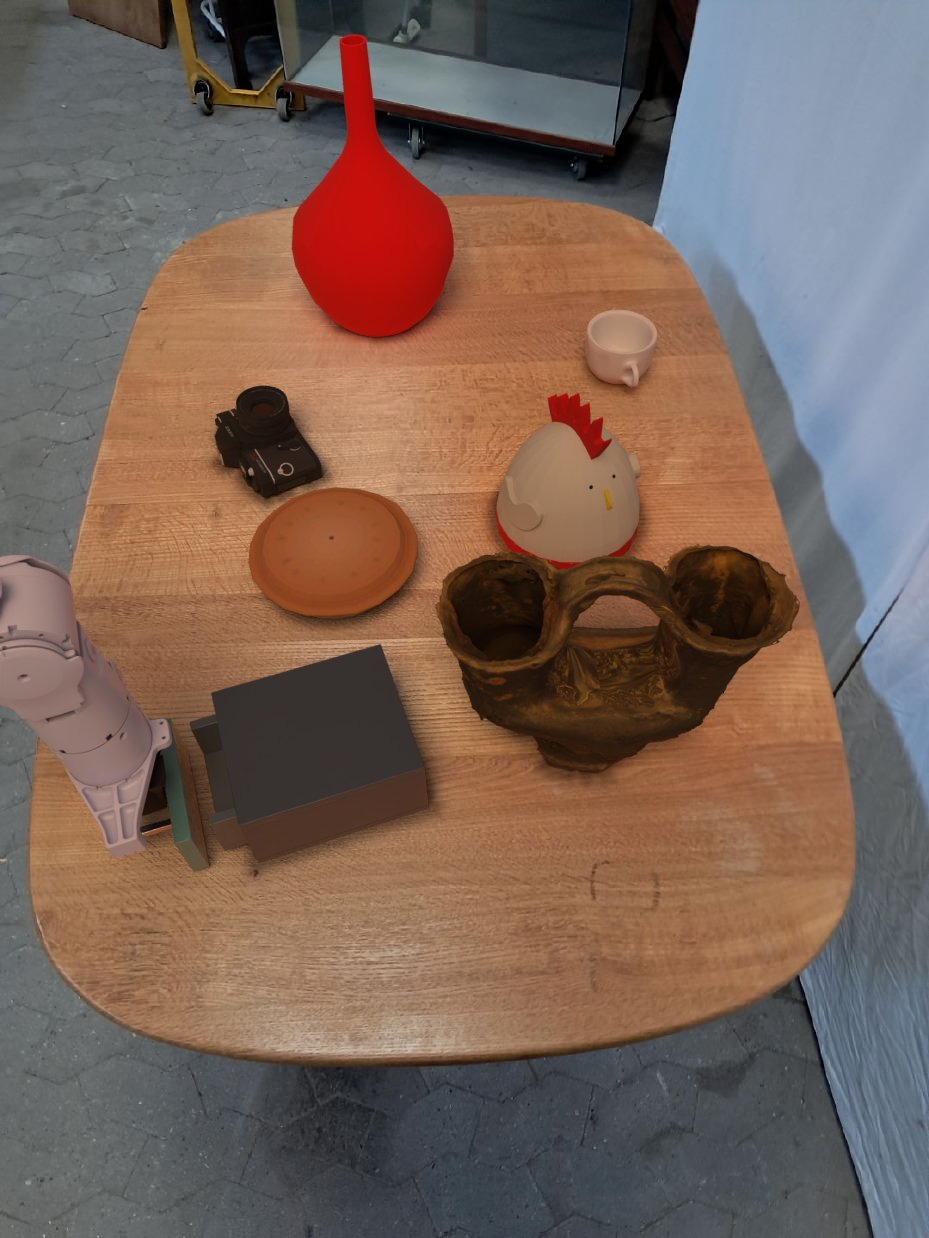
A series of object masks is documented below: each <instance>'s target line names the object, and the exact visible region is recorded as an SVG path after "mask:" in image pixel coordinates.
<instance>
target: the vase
mask: <svg viewBox="0 0 929 1238" xmlns="http://www.w3.org/2000/svg"><path fill="white" fill-rule="evenodd" d="M338 44H339V45H338V46H339V55H340V68H341V69H340V70H341V76H342V77H341V79H342V91H343V103H344V113H345V121H346V130H347V132H346V137H345V142H344V143H345V144H344V146H343V149H342V151H341V154H340V155H339V156H338V157H337V159H336V160H335V162H334V163H333V164H332V166H331V167H330V168H329V169H328V171H327V173H326V174H325V175H324V177H323V178H322V180H321V181H320V182H319V183H318V184H317V185H316V187H315V188H314V189H313V190H312V191H311V192H310V194H309V195H308V196H306V198H305V199H304V200H303V202H301V204H299V206H298V208H297V210H296V211H295V213H294V215H293V217H292V233H291V251H292V252H291V253H292V258H293V262H294V263H293V264H294V266H295V269H296V271H297V273H298V276H299V278H300V280H301V281H302V283H303V285H304V287H305V288H306V290H307V292H308V293H309V295H310V297H311V299H312V301H313V302H314V304H315V305H316V306H318V307H319V309H321V310H322V312H323V313H325V314H326V315H327V316H328V317H329V319H331V320H332V322H334V324H337V325H339V326H340V327H342V328H344V329H346V330H348V331H350V332H352V333H354V334H357V335H361V336H364V337H372V338H382V337H390V336H394V335H398V334H401V333H403V332H405V331H407V330H409V329H410V328H413V326H415V325H416V324H417V323H419V322H420V321H422V320H423V319H424V318H425V317H426V316H427V315H428V314H429V312H430V311H431V310H432V308H434V306H435V304H436V303H437V301H438V300H439V298H440V297H441V296H442V293H443V291H444V287H445V285H446V282H447V278H448V275H449V272H450V269H451V265H452V263H453V260H454V257H455V238H454V232H453V225H452V222H451V218H450V214H449V209H448V208H447V206H446V204H445V203H444V201H443V199H441V197H440V196H438V195H437V194H436V193H434V192H433V191H432V190H431V189H430V188H428V187H427V186H426V185H425V184H424V183H422V181H420V180H419V179H418V178H416V177H415V176H414V175H413V174H411V172H410V171H409V170H407V168H405V167H404V166H403V164H401V162H399V160H397V159H396V158H395V157H394V156H393V155H392V154H391V153H390V152H389V151H388V150H387V149H386V147H385V146H384V144H383V142H382V141H381V138H380V135H379V133H378V130H377V123H376V113H375V111H376V110H375V102H374V93H373V92H374V91H373V84H372V75H371V67H370V57H369V49H368V41H367V37H365V36H364V35H361V34H348V35H344V36H342V37H341V38H339V40H338Z"/></svg>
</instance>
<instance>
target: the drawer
mask: <svg viewBox="0 0 929 1238" xmlns="http://www.w3.org/2000/svg"><path fill="white" fill-rule="evenodd" d="M165 719H166V720H167V722H168V723H169V725H170V729H171V735H172V743H171V745H170V746H169V747H167V748H164V749H162V750H161V753H160V755H163V758H164V764H165V770H166V783H165V791H166V797H167V804H168V806H167V808H168V811H169V812H168V813H169V818H165V819H162V820H159V821H156V822H153V823H150V824H147V825H144V826H140V831H141V833H142V834H143V835H144V837H145V838H146V837H148V836H152V835H156V834H158V833H161V832H165V831H168V830H171V832H172V838H173V843H174V845H175V847H176V848H177V849H178V851H179V853H180V854H181V855H182V857H183V859H184V860H185V861H186V863H187V864H188V865H189V867H190V869H191V871H192V872H198V871H200V870H203V869H206V868H209V867H210V863H209V858H208V852H207V847H206V841H205V836H204V831H203V825H202V819H201V814H200V809H199V804H198V797H197V792H196V787H195V782H194V777H193V776H194V775H193V769H192V764H191V760H190V755H189V754H190V753H189V751H188V748H187V746H186V744H185V742H184V741H183V740H182V736H181V735H180V733H179V732H178V730H177V728H176V726H175V724H174V723H173V721H172V719H171V718H170V717H168V718H165ZM189 726H190V731H191V732H192V735H193V737H194V738H195V740H196V743H197V744H198V747H199V748H200V750H201V752H202V754H203V757H204V762H205V763H204V764H205V768H206V772H207V778H208V783H209V788H210V793H211V798H212V804H213V810H214V813H212V814H209V815H208V814H207V821H208V826H209V828H210V829H211V832H212V833H213V835H214V836H215V838H216V840H217V841H218V843H219V845H220V846H221V848H222V850H223V851H224V852H226V851H230V850H233V849H236V848H239V847H241V846H246V845H249V844H248V842H247V840H246V838H245V837H244V835H243V833H242V831H241V829H240V827H239V824H238V819H237V814H236V810H235V805H234V800H233V795H232V791H231V786H230V781H229V776H228V772H227V767H226V762H225V757H224V753H223V748H222V743H221V738H220V734H219V729H218V724H217V719H216V714H215V713H214V714H211V715H208V716H204V717H201V718H197V719H194V720H190V721H189Z"/></svg>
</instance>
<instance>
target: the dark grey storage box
mask: <svg viewBox="0 0 929 1238" xmlns="http://www.w3.org/2000/svg"><path fill="white" fill-rule="evenodd" d="M210 695H211V700H212V705H213V709H214V714H216V719H217V724H218V729H219V734H220V738H221V743H222V748H223V753H224V757H225V762H226V767H227V772H228V776H229V781H230V786H231V791H232V795H233V800H234V805H235V810H236V814H237V819H238V824H239V827H240V829H241V831H242V833H243V835H244V837H245V838H246V840H247V842H248V844H247V845H248V846H249V848H250V850H251V852H252V854H253V856H254V858H255V859H256V862H257V863H258V864H262V863H266V862H268V861H271V860H275V859H278V858H281V857H284V856H287V855H290V854H293V853H296V852H299V851H303V850H306V849H309V848H313V847H314V846H319V845H321V844H324V843H327V842H330V841H333V840H336V839H339V838H342V837H346V836H348V835H349V836H350V835H351V834H356V833H359V832H361V831H364V830H367V829H370V828H373V827H377V826H380V825H382V824H383V825H384V824H386V823H389V822H392V821H395V820H398V819H402V818H405V817H408V816H410V815H413V814H416V813H420V812H422V811H426V810H429V808H430V806H429V797H428V787H427V778H426V777H427V776H426V767H425V764H424V761H423V758H422V756H421V753H420V750H419V748H418V744H417V741H416V739H415V736H414V733H413V731H412V728H411V725H410V722H409V720H408V719H409V718H408V717H407V714H406V711H405V708H404V706H403V703H402V699H401V697H400V694H399V691H398V689H397V686H396V683H395V681H394V677H393V674H392V672H391V669H390V666H389V663H388V660H387V658H386V655H385V652H384V648H383V647H382V644H381V643H378V644H375V645H373V646H369V647H365V648H362V649H358V650H355V651H352V652H348V653H344V654H341V655H337V656H334V657H331V658H330V657H329V658H327V659H324V660H323V659H322V660H320V661H316V662H313V663H309V664H306V665H302V666H298V667H295V668H293V669H289V670H285V671H281V672H277V673H275V674H271V675H267V676H264V677H261V678H257V679H254V680H249V681H246V682H244V683H240V684H235V685H233V686H232V685H231V686H229V687H226V688H225V687H224V688H223V689H219V690H214V691H212V692H211V693H210Z"/></svg>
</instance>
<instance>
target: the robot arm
mask: <svg viewBox="0 0 929 1238" xmlns="http://www.w3.org/2000/svg"><path fill="white" fill-rule="evenodd" d="M76 614H77V613H76V605H75V595H74V592H73V589H72V585H71V581H70V579H69V577H68V576H67V575H66V574H65V572H64V571H63V570H62V569H60V568H59V567H58V566H56V565H54V564H52V563H49V562H47V561H45V560H42V559H38V558H36V557H34V556H31V555H27V554H9V555H2V556H0V706H1V707H5V708H8V709H10V710H12V711H13V712H15V713H16V715H17V716H18V717H19V718H20V719H21V720H23V721H24V722H25V723H26V725H27V726H28V727H29V728H31V730H32V731H33V732H34V733H35V734H36V736H37V737H38V738H39V739H40V740H41V741H42V742H43V743H44V745H45V746H46V747H47V748H48V749H49V750H50V751H51V752H52V754H53V755H54V756H55V757H56V758H57V760H59V762H60V763H61V765H63V766H64V770H65V772H66V774H67V776H68V777H69V779H70V780H71V783H72V784H73V786H74V787H75V789H76V790H77V792H78V794H79V795H80V797H81V799H82V800H83V802H84V804H85V805H86V807H87V808H88V811H89V812H90V813H91V816H92V817H93V819H94V820H95V822H96V823H97V825H98V827H99V829H100V831H101V833H102V837H103V841H104V847H105V848H104V849H106V850H107V851H108V853H110V855H111V856H112V857H113V858H114V859H115V860H120V859H123V858H127V857H129V856H132V855H135V854H136V855H137V854H138V853H142V852H145V851H147V850H148V848H147V840H146V837H144V835H143V834H142V833H141V831H140V827H141V822H142V817H145V816H147V815H150V814H153V813H157V812H160V811H163V810H166V809H167V808H168V801H167V795H166V788H165V783H166V770H165V764H164V758H163V755H160V753H161V750H162V749H164V748H167V747H169V746H170V745H171V743H172V735H171V729H170V725H169V723H168V722H167V720H166V719H167V718H163V717H162V718H161V717H160V718H156V719H150V718H149V717H148V716H147V715H146V714H145V712H144V710H143V709H142V707H141V706H140V705H139V703H138V702H137V700H136V699H135V698H134V696H133V695H132V693H131V692H130V690H129V689H128V688H127V686H126V685H125V683H124V680H123V673H122V672H121V670H120V668H119V666H118V665H117V663H116V662H115V660H114V659H113V658H109V659H106V658H105V656H104V655H103V653H102V652H101V651H100V649H99V648H98V647H97V645H96V644H94V642H93V640H92V639H91V638H90V636H89V634H88V632H87V631H86V630H85V628H84V626H83V625H82V623H81V622H80V621H79V620H77V615H76Z"/></svg>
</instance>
